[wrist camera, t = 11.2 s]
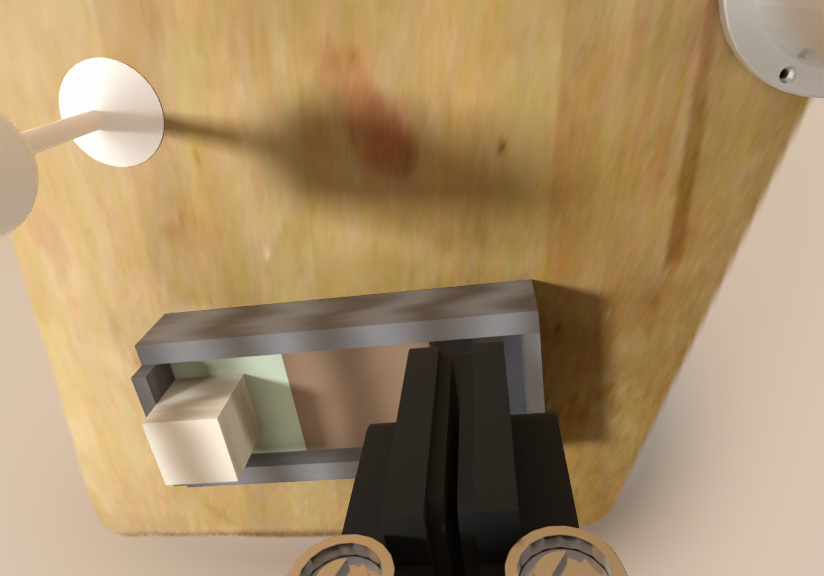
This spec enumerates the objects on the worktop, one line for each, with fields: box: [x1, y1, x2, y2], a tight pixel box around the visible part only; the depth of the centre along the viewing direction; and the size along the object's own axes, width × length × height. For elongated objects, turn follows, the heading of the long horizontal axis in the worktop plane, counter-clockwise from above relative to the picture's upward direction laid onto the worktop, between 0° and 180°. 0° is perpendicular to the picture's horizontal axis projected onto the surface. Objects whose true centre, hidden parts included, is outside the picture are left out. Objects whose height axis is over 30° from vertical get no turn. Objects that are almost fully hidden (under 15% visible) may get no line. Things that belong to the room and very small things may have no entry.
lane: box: [131, 280, 545, 487], centre depth 43 cm, size 26×12×6 cm, turn 98°
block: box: [142, 374, 261, 485], centre depth 42 cm, size 5×5×5 cm
